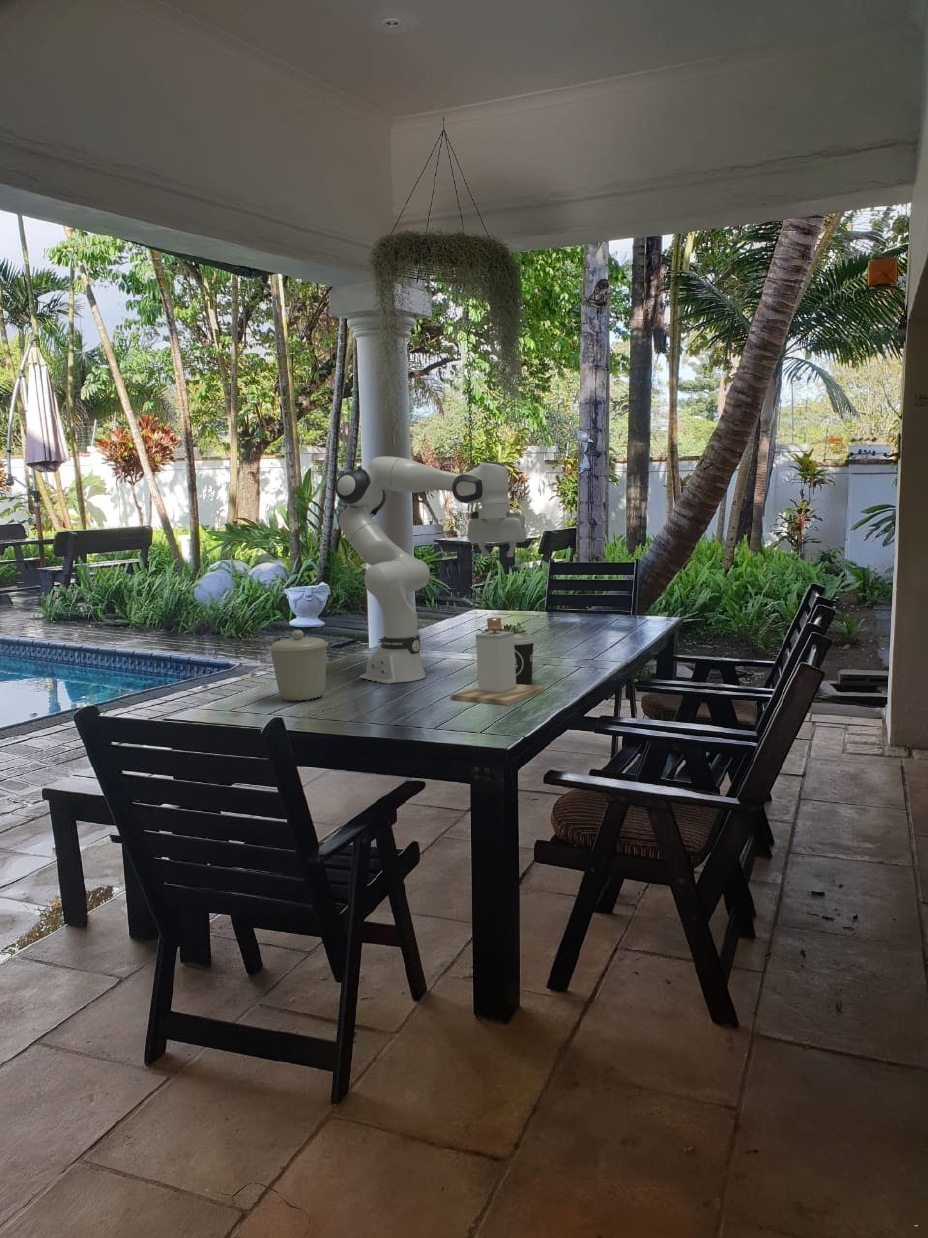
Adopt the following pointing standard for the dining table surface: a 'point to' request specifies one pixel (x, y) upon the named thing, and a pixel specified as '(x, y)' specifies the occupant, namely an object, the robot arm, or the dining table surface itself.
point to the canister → (300, 666)
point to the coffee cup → (523, 658)
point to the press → (496, 662)
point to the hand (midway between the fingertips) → (497, 556)
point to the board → (497, 695)
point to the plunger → (494, 624)
